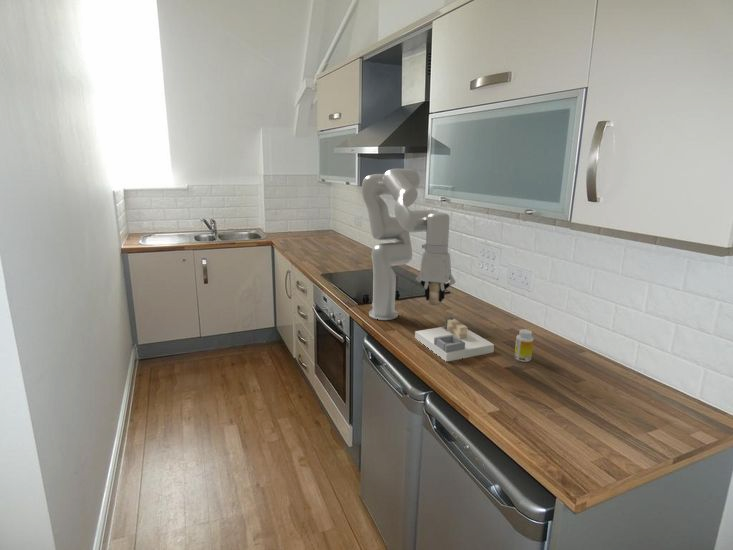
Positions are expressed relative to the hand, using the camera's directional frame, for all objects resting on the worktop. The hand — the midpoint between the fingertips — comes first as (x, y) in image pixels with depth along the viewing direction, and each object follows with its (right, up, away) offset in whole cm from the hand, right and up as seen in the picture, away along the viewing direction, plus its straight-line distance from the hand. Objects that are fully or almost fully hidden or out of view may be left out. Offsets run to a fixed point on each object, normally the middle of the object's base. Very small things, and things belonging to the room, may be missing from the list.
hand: (434, 299), depth 157 cm
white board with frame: (+8, -17, +6) cm, 20 cm away
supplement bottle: (+30, -21, -3) cm, 36 cm away
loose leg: (0, -1, 0) cm, 1 cm away
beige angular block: (+9, -13, +10) cm, 19 cm away
